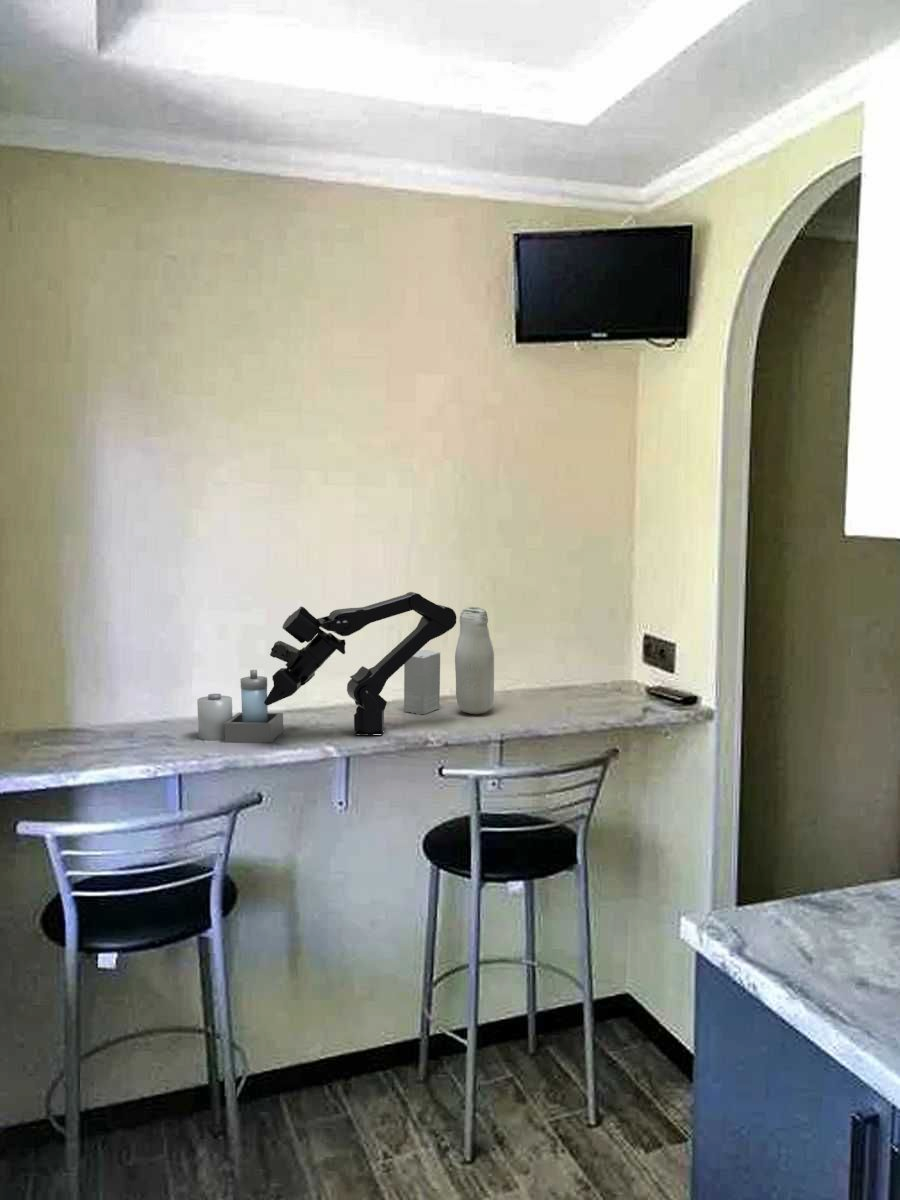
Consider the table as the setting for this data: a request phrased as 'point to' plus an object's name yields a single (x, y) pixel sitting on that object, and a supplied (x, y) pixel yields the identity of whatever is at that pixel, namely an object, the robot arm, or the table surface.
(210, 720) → the jar and tray set
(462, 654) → the glass bottle
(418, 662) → the skincare box
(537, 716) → the table surface
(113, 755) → the table surface
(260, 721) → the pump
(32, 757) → the table surface
